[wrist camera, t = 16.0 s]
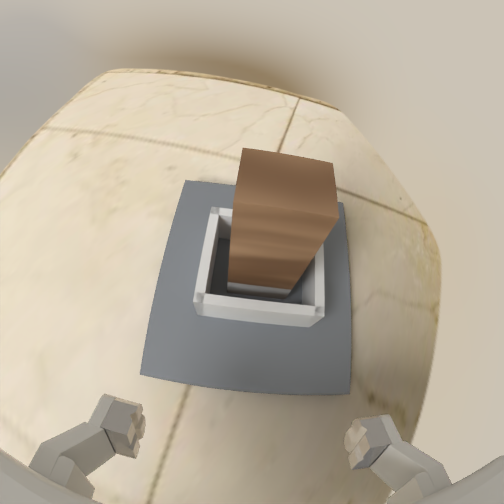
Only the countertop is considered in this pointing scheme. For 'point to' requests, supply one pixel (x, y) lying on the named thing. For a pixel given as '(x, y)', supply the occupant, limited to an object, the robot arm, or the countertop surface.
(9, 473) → the robot arm
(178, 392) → the countertop surface
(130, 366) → the countertop surface
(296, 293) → the grey socket base
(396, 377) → the countertop surface
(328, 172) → the block
